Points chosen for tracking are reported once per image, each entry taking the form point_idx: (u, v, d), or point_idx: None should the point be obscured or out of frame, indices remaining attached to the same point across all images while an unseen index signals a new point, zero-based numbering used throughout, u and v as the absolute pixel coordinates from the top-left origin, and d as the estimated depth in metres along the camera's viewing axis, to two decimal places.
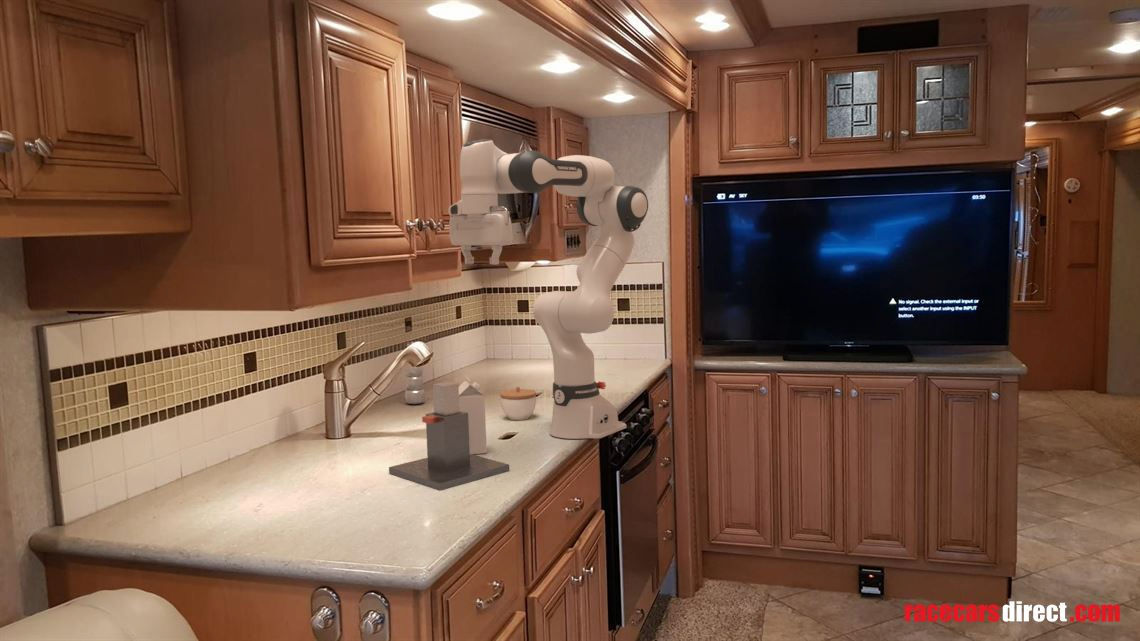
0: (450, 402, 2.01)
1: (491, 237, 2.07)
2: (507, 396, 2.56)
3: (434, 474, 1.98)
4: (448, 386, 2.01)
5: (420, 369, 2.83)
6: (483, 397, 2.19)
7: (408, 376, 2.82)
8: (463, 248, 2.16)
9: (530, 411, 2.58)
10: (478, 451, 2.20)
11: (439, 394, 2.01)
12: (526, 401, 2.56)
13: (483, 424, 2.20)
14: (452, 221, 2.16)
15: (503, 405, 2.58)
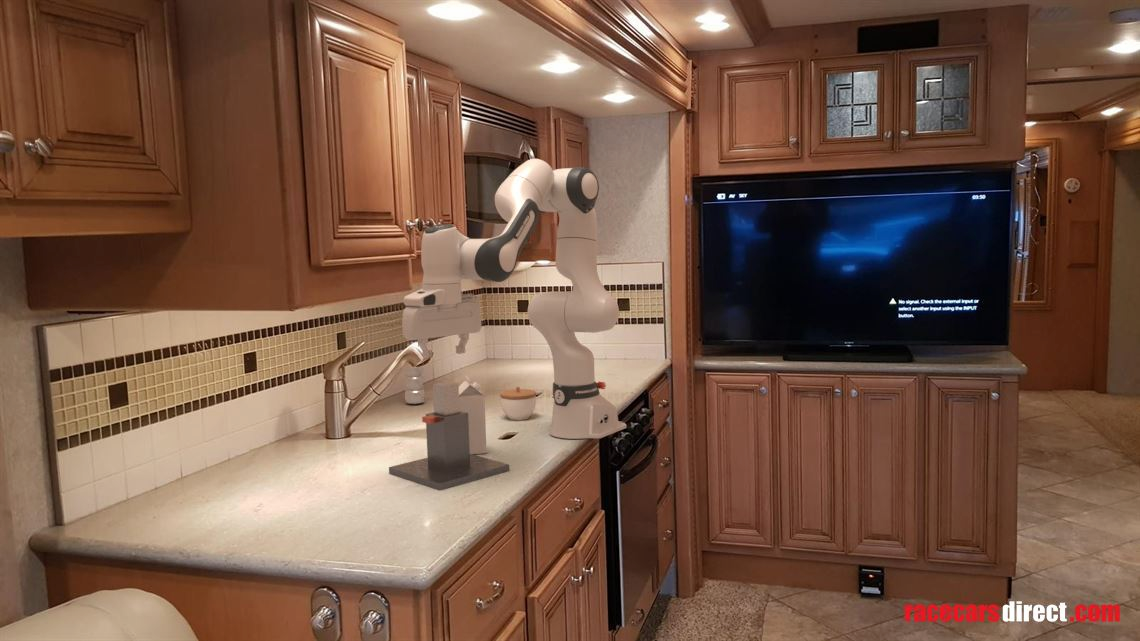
0: (450, 402, 2.01)
1: (469, 325, 2.04)
2: (507, 396, 2.56)
3: (434, 474, 1.98)
4: (448, 386, 2.01)
5: (420, 369, 2.83)
6: (483, 397, 2.19)
7: (408, 376, 2.82)
8: (426, 341, 1.97)
9: (530, 411, 2.58)
10: (478, 451, 2.20)
11: (439, 394, 2.01)
12: (526, 401, 2.56)
13: (483, 424, 2.20)
14: (420, 313, 1.94)
15: (503, 405, 2.58)
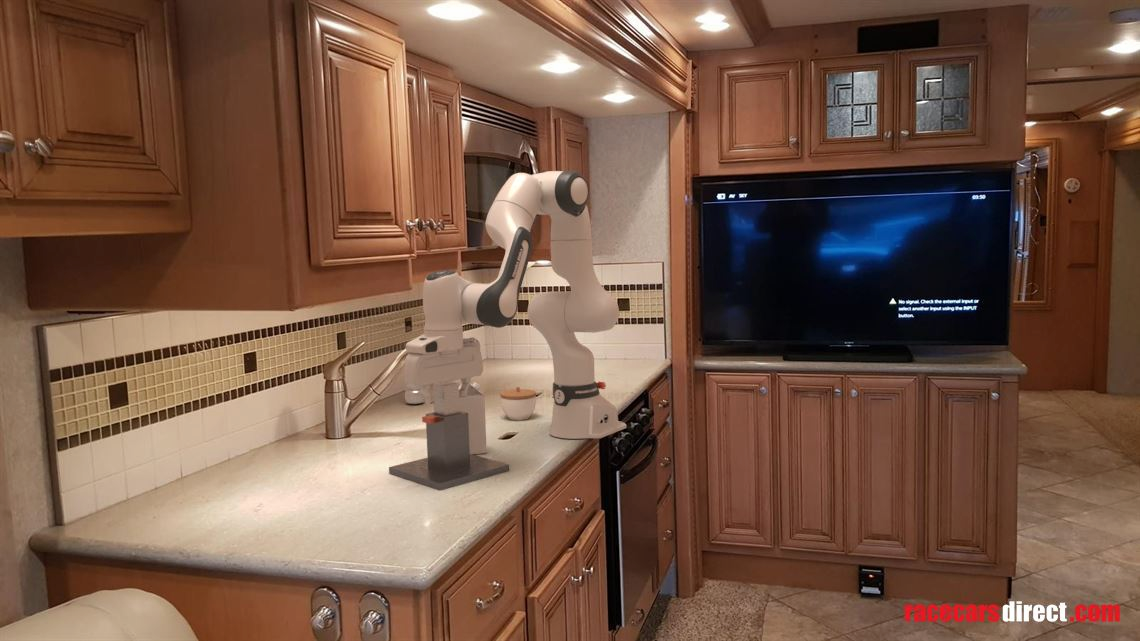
0: (450, 402, 2.01)
1: (471, 369, 2.05)
2: (507, 396, 2.56)
3: (434, 474, 1.98)
4: (448, 386, 2.01)
5: None
6: (483, 397, 2.19)
7: None
8: (428, 387, 1.98)
9: (530, 411, 2.58)
10: (478, 451, 2.20)
11: (439, 394, 2.01)
12: (526, 401, 2.56)
13: (483, 424, 2.20)
14: (422, 360, 1.95)
15: (503, 405, 2.58)
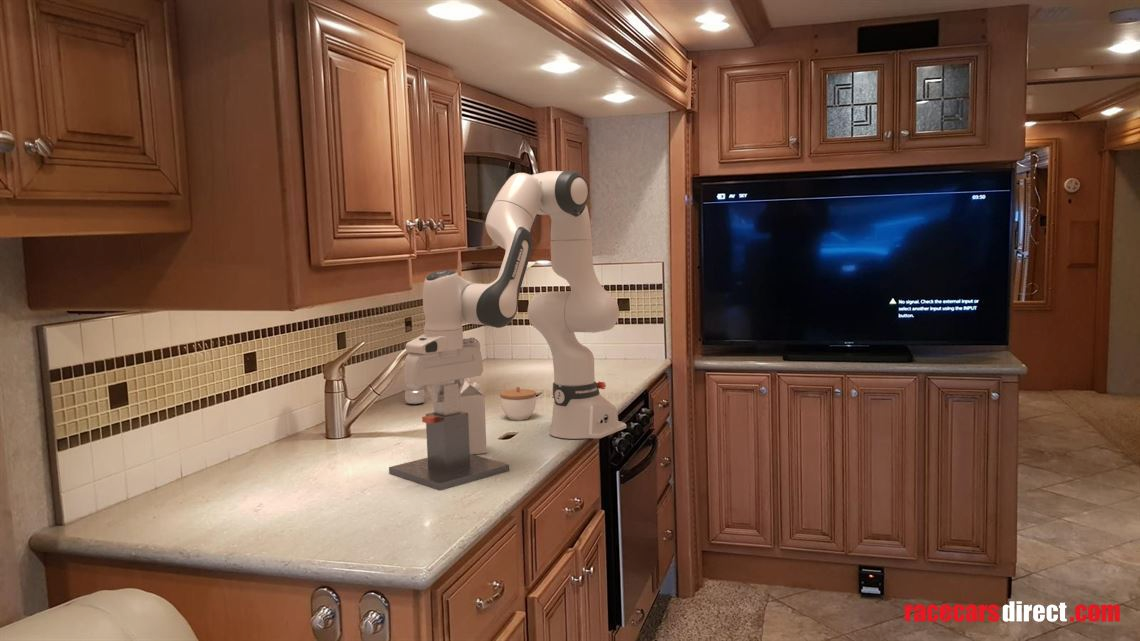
0: (450, 402, 2.01)
1: (470, 369, 2.05)
2: (507, 396, 2.56)
3: (434, 474, 1.98)
4: (448, 386, 2.01)
5: None
6: (483, 397, 2.19)
7: None
8: (435, 386, 1.99)
9: (530, 411, 2.58)
10: (478, 451, 2.20)
11: None
12: (526, 401, 2.56)
13: (483, 424, 2.20)
14: (422, 360, 1.95)
15: (503, 405, 2.58)
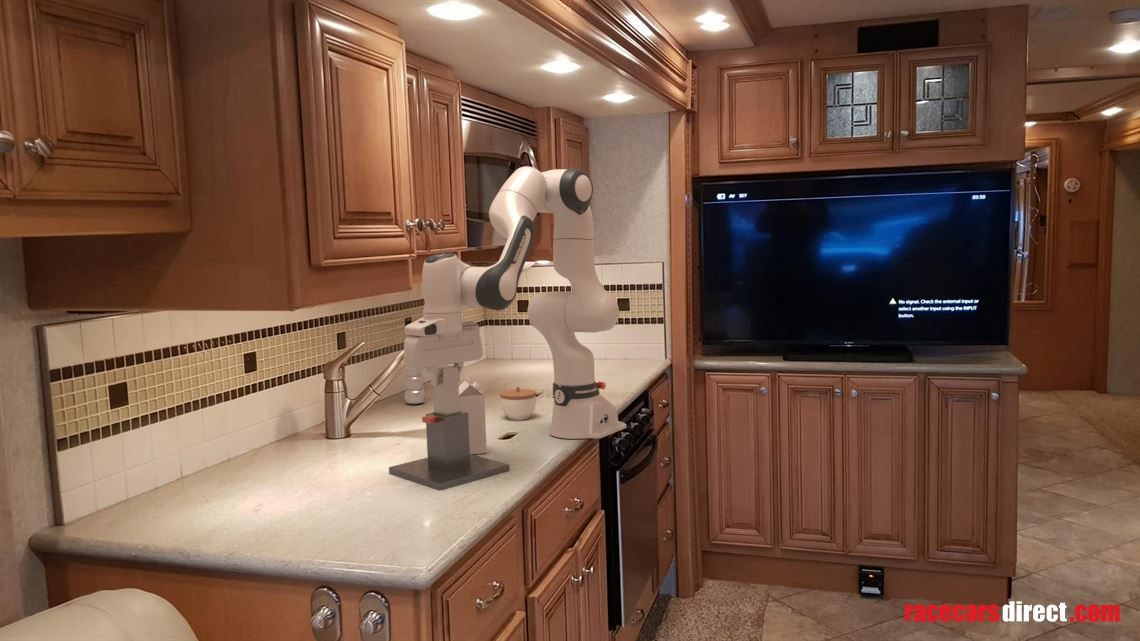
0: (449, 385, 2.01)
1: (470, 353, 2.05)
2: (507, 396, 2.56)
3: (434, 474, 1.98)
4: (447, 369, 2.00)
5: (420, 369, 2.83)
6: (483, 397, 2.19)
7: (408, 376, 2.82)
8: (434, 369, 1.99)
9: (530, 411, 2.58)
10: (478, 451, 2.20)
11: None
12: (526, 401, 2.56)
13: (483, 424, 2.20)
14: (421, 343, 1.94)
15: (503, 405, 2.58)
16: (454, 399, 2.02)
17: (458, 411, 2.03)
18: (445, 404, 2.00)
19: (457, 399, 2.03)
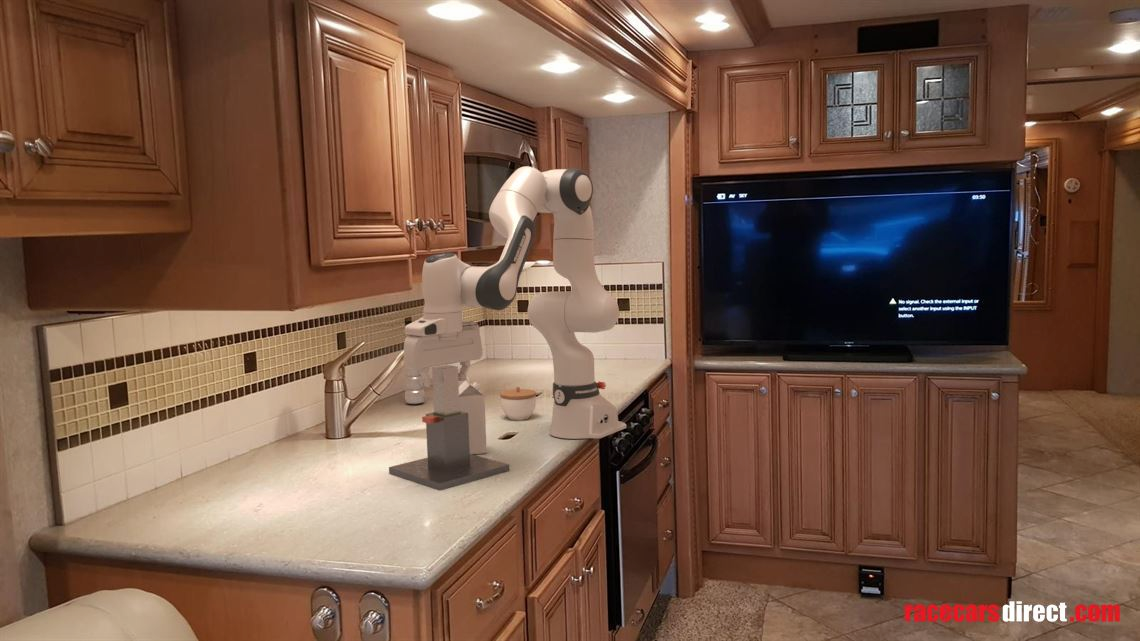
0: (449, 385, 2.01)
1: (470, 353, 2.05)
2: (507, 396, 2.56)
3: (434, 474, 1.98)
4: (447, 369, 2.00)
5: None
6: (483, 397, 2.19)
7: (408, 376, 2.82)
8: (427, 370, 1.98)
9: (530, 411, 2.58)
10: (478, 451, 2.20)
11: (438, 377, 2.01)
12: (526, 401, 2.56)
13: (483, 424, 2.20)
14: (421, 342, 1.94)
15: (503, 405, 2.58)
16: (454, 399, 2.02)
17: (458, 411, 2.03)
18: (445, 403, 2.00)
19: (457, 399, 2.03)
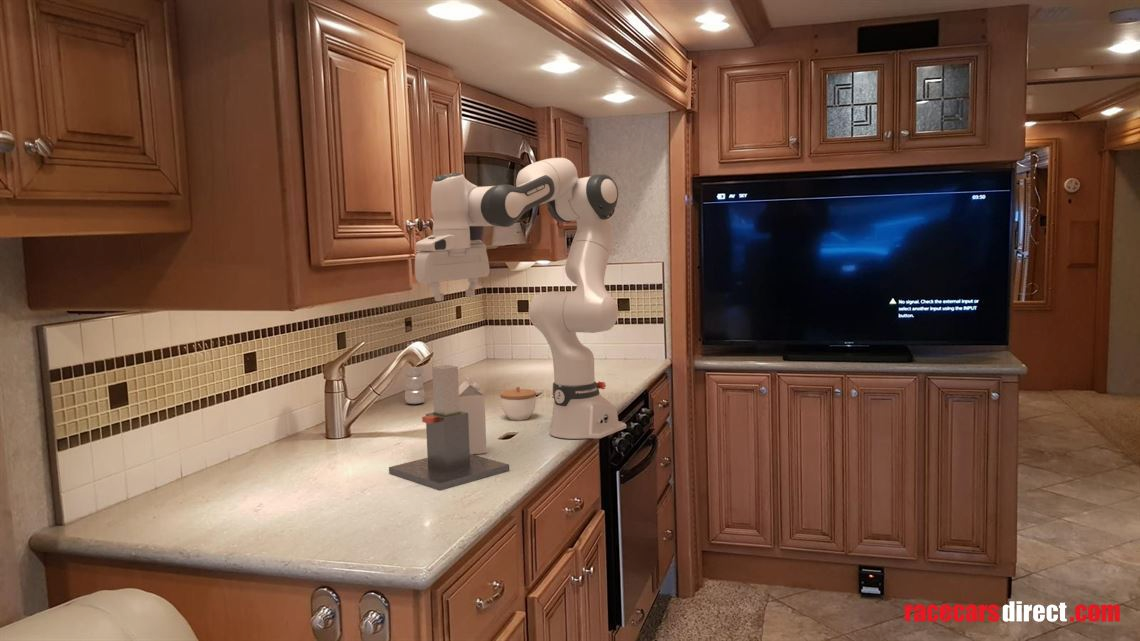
0: (449, 385, 2.01)
1: (478, 270, 2.14)
2: (507, 396, 2.56)
3: (434, 474, 1.98)
4: (447, 369, 2.00)
5: (420, 369, 2.83)
6: (483, 397, 2.19)
7: (408, 376, 2.82)
8: (438, 285, 2.07)
9: (530, 411, 2.58)
10: (478, 451, 2.20)
11: (438, 377, 2.01)
12: (526, 401, 2.56)
13: (483, 424, 2.20)
14: (431, 257, 2.03)
15: (503, 405, 2.58)
16: (454, 399, 2.02)
17: (458, 411, 2.03)
18: (445, 403, 2.00)
19: (457, 399, 2.03)
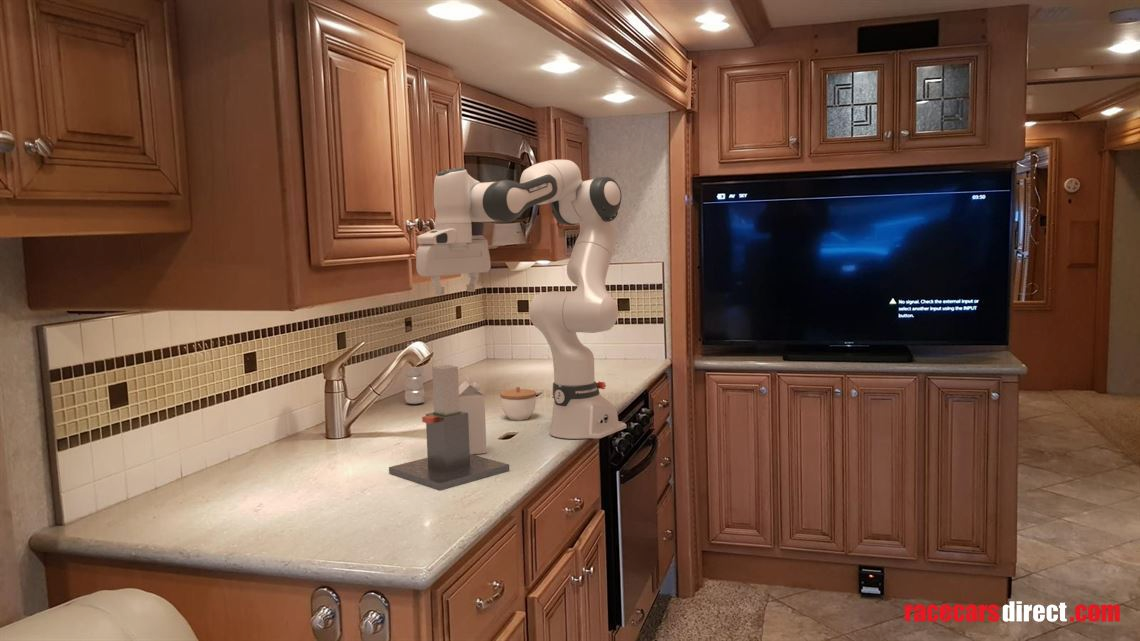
0: (449, 385, 2.01)
1: (479, 265, 2.15)
2: (507, 396, 2.56)
3: (434, 474, 1.98)
4: (447, 369, 2.00)
5: (420, 369, 2.83)
6: (483, 397, 2.19)
7: (408, 376, 2.82)
8: (438, 278, 2.08)
9: (530, 411, 2.58)
10: (478, 451, 2.20)
11: (438, 377, 2.01)
12: (526, 401, 2.56)
13: (483, 424, 2.20)
14: (433, 250, 2.05)
15: (503, 405, 2.58)
16: (454, 399, 2.02)
17: (458, 411, 2.03)
18: (445, 403, 2.00)
19: (457, 399, 2.03)
